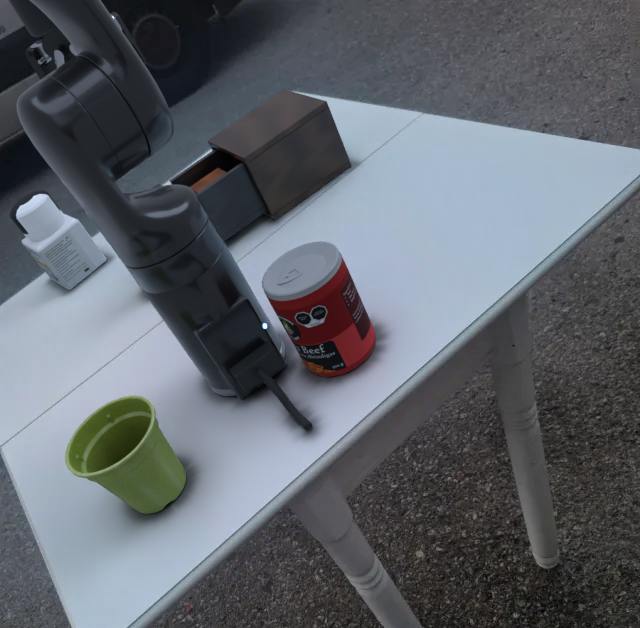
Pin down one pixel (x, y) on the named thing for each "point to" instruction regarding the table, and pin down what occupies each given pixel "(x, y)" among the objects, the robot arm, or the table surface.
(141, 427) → the plant pot
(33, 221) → the container
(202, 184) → the block
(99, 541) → the table surface
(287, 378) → the table surface
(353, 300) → the canned food
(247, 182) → the drawer
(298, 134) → the cabinet
